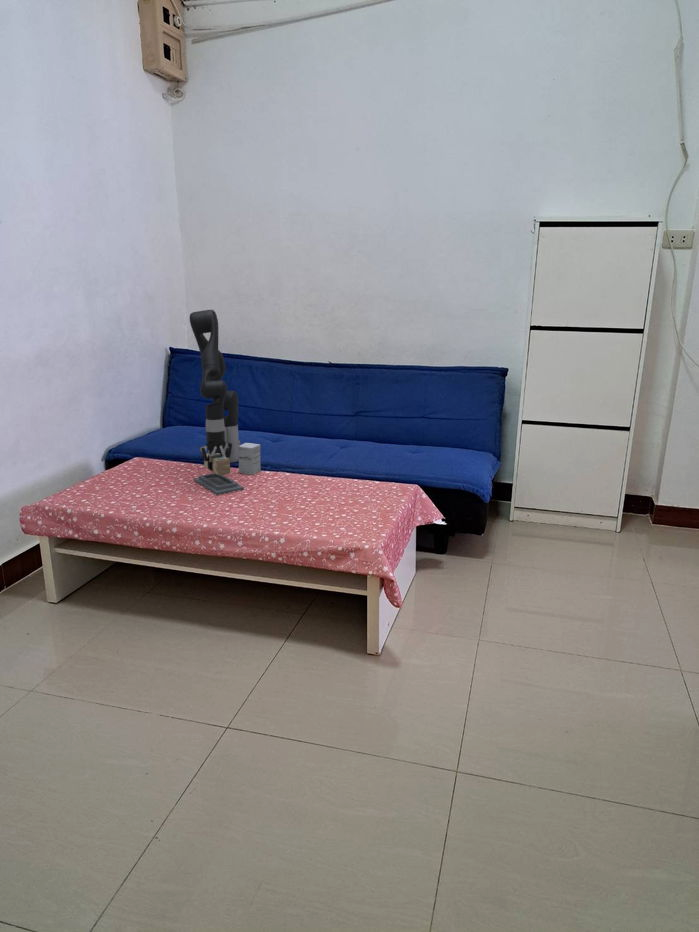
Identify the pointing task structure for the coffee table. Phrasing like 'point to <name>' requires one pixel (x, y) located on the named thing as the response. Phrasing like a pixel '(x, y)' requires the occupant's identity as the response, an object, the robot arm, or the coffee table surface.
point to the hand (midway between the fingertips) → (217, 468)
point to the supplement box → (249, 458)
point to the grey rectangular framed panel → (218, 483)
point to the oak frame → (219, 464)
